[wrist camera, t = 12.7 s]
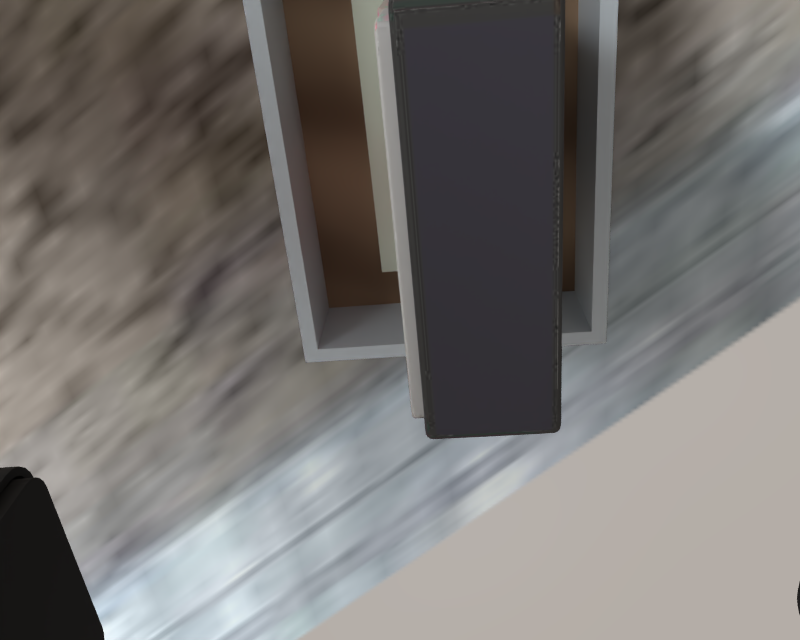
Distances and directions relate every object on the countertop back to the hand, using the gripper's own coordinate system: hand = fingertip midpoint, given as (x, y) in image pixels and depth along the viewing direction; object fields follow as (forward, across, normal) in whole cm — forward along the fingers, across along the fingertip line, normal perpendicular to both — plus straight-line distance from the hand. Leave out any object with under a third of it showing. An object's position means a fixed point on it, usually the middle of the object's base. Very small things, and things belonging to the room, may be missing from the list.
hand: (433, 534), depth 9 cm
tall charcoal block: (+24, -1, 0) cm, 24 cm away
